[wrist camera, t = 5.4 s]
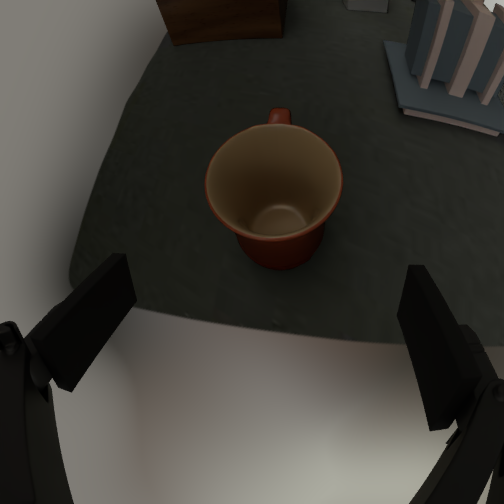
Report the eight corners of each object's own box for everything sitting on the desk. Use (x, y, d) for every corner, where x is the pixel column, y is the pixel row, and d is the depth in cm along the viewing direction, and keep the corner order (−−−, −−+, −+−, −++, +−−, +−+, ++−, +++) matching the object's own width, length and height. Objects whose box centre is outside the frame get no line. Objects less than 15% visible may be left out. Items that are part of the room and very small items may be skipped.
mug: (327, 285, 27) (344, 244, 17) (227, 278, 28) (192, 236, 19) (329, 168, 30) (338, 94, 21) (243, 164, 32) (223, 93, 22)
